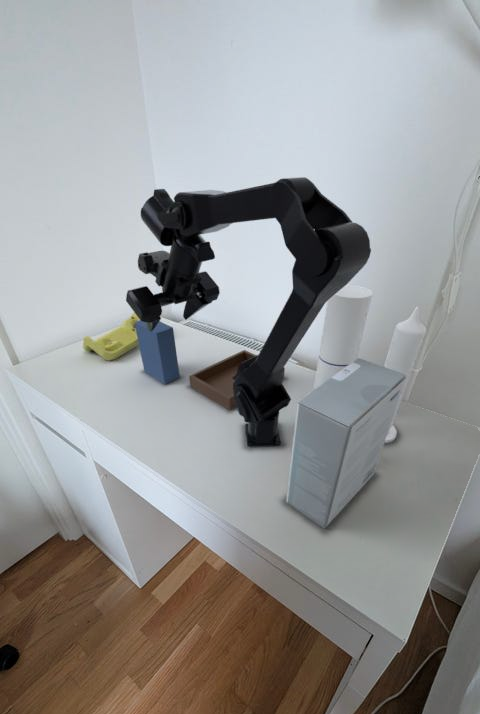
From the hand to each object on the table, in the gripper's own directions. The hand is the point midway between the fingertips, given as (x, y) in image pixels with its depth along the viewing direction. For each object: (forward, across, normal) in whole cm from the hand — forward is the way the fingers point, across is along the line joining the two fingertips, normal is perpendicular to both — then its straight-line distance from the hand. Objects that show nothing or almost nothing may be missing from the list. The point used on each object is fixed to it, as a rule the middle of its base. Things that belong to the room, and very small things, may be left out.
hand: (167, 323), depth 73 cm
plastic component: (+26, -1, -15) cm, 30 cm away
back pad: (+15, +1, +3) cm, 16 cm away
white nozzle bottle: (-10, -17, +45) cm, 49 cm away
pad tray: (+7, -10, +17) cm, 21 cm away
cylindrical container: (-4, -16, +36) cm, 39 cm away
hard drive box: (-11, +2, +47) cm, 48 cm away
